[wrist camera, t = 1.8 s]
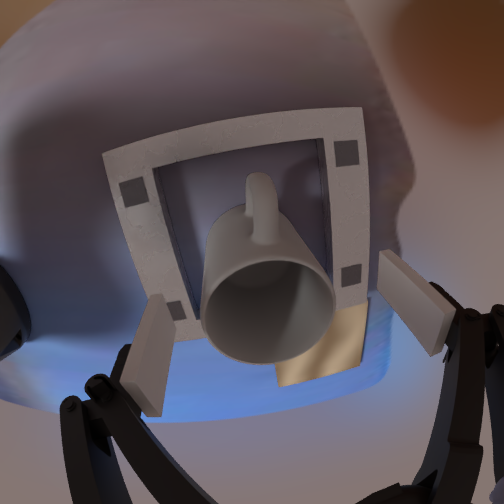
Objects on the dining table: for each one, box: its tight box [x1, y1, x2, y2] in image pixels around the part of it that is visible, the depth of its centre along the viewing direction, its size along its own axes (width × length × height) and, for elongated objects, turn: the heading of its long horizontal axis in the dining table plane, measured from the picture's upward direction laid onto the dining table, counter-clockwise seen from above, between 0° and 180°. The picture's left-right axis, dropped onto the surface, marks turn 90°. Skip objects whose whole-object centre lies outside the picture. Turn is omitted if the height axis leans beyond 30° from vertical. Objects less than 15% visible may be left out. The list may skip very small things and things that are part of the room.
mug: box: [200, 172, 336, 365], centre depth 20 cm, size 12×8×11 cm
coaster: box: [275, 300, 368, 387], centre depth 32 cm, size 12×12×1 cm
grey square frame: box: [102, 107, 370, 342], centre depth 24 cm, size 22×20×2 cm
